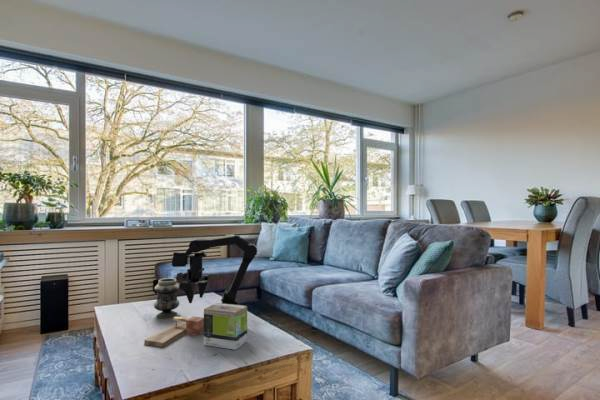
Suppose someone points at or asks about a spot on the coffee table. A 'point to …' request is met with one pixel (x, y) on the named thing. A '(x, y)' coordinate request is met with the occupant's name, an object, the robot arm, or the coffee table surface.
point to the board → (167, 335)
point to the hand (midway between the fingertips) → (195, 300)
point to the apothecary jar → (166, 297)
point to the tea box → (225, 325)
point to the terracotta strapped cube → (192, 324)
